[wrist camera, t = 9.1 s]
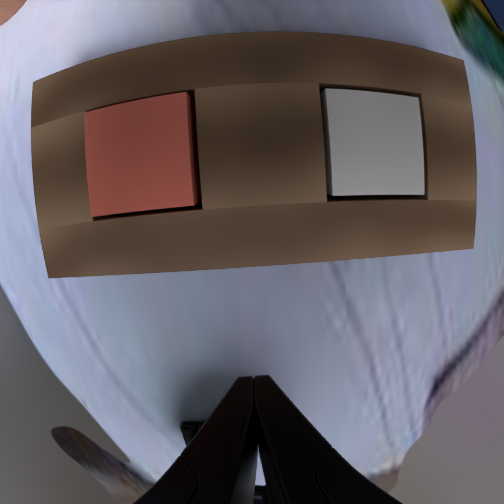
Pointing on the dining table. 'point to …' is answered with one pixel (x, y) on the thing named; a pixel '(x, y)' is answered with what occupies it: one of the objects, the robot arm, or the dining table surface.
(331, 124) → the pale grey cube
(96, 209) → the salmon pink cube
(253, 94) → the brown tray
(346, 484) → the robot arm
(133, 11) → the dining table surface
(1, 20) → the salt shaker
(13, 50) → the dining table surface
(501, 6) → the electronic device
